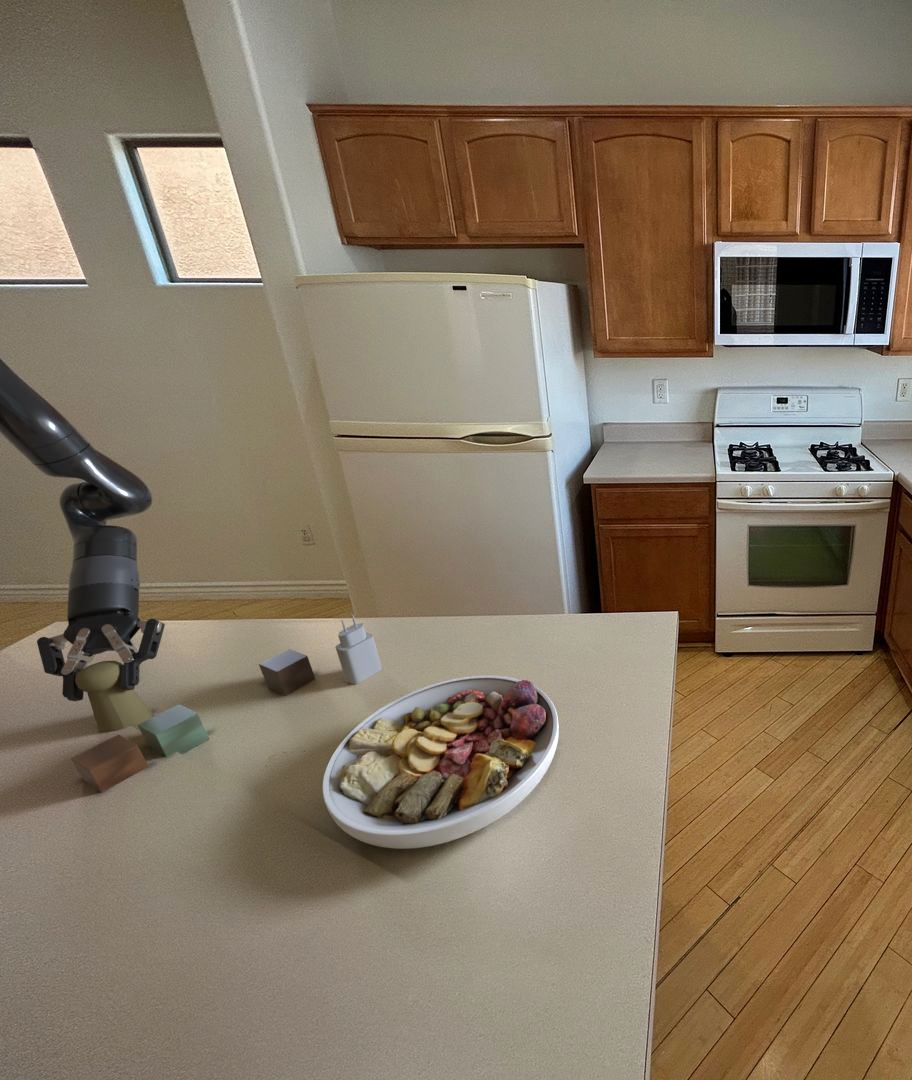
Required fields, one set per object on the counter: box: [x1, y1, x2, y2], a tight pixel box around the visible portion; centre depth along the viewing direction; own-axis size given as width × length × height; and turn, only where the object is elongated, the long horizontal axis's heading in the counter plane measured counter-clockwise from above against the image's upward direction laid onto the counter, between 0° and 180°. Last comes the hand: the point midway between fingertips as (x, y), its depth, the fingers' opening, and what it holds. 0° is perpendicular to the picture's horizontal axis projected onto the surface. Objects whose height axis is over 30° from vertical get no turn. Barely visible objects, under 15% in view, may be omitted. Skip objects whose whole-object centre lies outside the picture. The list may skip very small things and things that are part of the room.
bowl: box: [321, 675, 560, 850], centre depth 79 cm, size 30×30×8 cm
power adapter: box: [334, 614, 383, 685], centre depth 97 cm, size 3×5×12 cm, turn 156°
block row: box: [70, 648, 316, 793], centre depth 86 cm, size 28×5×5 cm, turn 156°
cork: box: [75, 660, 154, 733], centre depth 85 cm, size 6×6×11 cm
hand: (101, 694), depth 83 cm, fingers closed on cork, 5 cm apart
